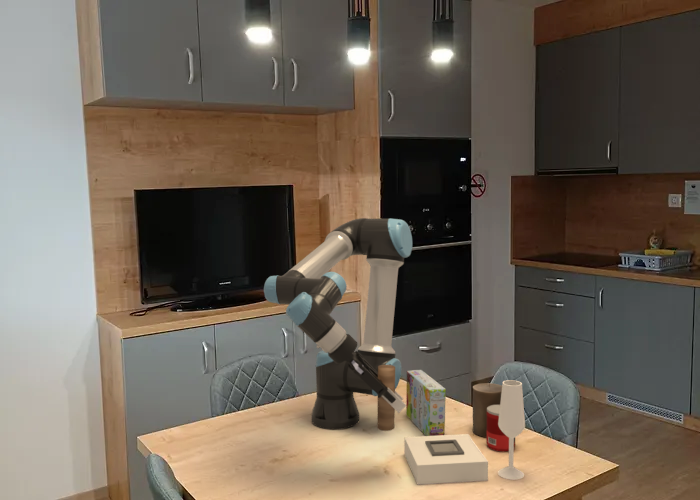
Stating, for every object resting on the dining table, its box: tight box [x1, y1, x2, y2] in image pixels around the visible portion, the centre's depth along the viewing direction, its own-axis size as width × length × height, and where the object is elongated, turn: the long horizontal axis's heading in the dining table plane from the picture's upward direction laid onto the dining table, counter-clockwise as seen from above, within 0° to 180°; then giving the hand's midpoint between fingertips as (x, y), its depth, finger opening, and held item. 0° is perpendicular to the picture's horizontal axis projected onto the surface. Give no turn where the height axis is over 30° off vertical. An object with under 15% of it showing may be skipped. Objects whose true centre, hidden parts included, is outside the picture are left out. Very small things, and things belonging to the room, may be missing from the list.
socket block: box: [403, 433, 489, 485], centre depth 172 cm, size 18×18×6 cm
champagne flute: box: [497, 379, 526, 481], centre depth 167 cm, size 7×7×24 cm
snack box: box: [405, 369, 447, 436], centre depth 200 cm, size 21×6×15 cm, turn 14°
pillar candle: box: [472, 382, 502, 438], centre depth 195 cm, size 10×10×15 cm
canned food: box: [485, 405, 516, 453], centre depth 185 cm, size 8×8×11 cm
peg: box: [376, 365, 396, 432], centre depth 168 cm, size 4×4×16 cm
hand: (400, 405), depth 168 cm, fingers closed on peg, 4 cm apart
